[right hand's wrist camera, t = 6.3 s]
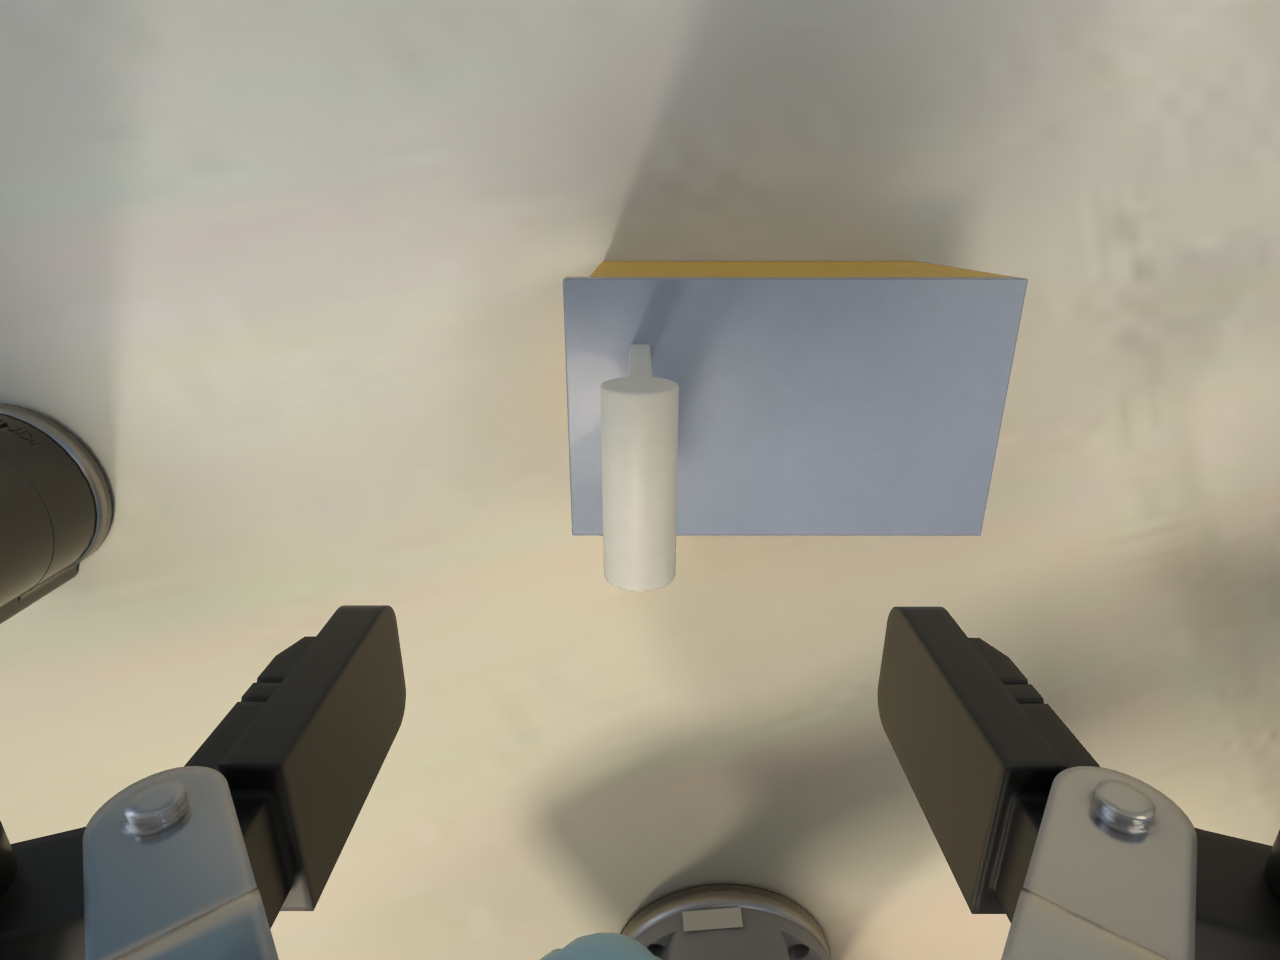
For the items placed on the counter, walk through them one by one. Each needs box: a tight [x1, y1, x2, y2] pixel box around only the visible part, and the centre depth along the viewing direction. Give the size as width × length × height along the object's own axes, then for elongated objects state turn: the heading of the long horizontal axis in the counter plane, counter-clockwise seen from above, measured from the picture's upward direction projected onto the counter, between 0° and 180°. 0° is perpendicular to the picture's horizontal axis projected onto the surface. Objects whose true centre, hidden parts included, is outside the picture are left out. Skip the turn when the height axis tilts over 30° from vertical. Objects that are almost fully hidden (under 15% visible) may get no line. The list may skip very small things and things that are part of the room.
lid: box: [563, 277, 1027, 592], centre depth 22 cm, size 16×10×9 cm, turn 90°
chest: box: [590, 261, 1011, 277], centre depth 31 cm, size 15×10×10 cm, turn 90°
